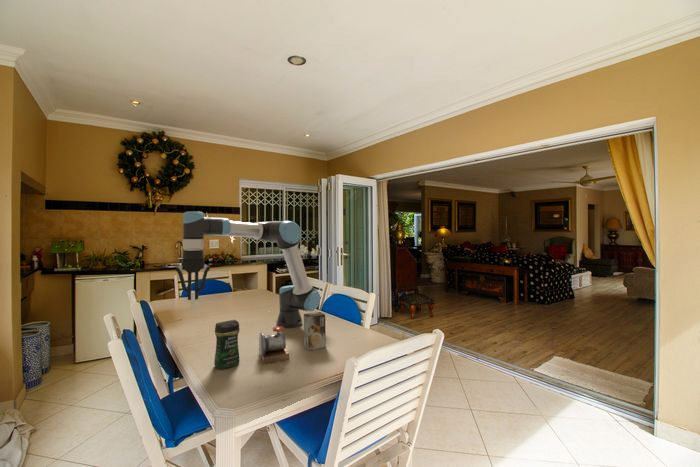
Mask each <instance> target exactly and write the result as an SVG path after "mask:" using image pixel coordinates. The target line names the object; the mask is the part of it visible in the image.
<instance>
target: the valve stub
mask: <svg viewBox="0 0 700 467" xmlns="http://www.w3.org/2000/svg"><path fill="white" fill-rule="evenodd" d="M284 330H285V328H284V327H282V326H277V325H276V326H274V327H272V332H275V333H276V334H268V335H265V333H264V332H260V333H259V336H258V354H259V357H260V359H261V362H262V364H263V365H269V364H273V363H274V364H275V363H280V362H286V361H287V362H288V361H290V352H289V350H288V349H287V347H286V345H287V343H286V342H287V340H286V335H285V333H284V332H283V331H284ZM281 332H282V333H281Z"/></svg>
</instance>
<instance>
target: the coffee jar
mask: <svg viewBox="0 0 700 467" xmlns="http://www.w3.org/2000/svg"><path fill="white" fill-rule="evenodd" d="M214 327H215V328H214V334H215V337H216V342H215V343H216V345H215V353H214V364H213V365H214V367H215V368H217V369H220V370H224V369H230V368H232V367H235V366H238V365H239V364H240V352H239V333H240V323H239V321H237V320H236V319H232V320H226V321H221V322H220V321H219V322H216V323H215V325H214Z"/></svg>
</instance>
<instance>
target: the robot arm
mask: <svg viewBox="0 0 700 467" xmlns="http://www.w3.org/2000/svg"><path fill="white" fill-rule="evenodd" d="M205 236H218V237H219V236H221V237H234V238H235V237H236V238H237V237H239V238H252V239H254V240H256V241H257V240H258V241H265V242H270V243H276V244H277V249H279V250H280V251H282V253H283V257H284V260H285V263H286V265H287V270H288V273H289V276H290V278H291V282H292V285H286V286H285V285H284V286H281V287H280V288H279V293H278V294H279V295H278V297H279V298H278V299H279V301H278V302H279V312H278V316H277V318H276V327H277V326H282V327H284V329H286V328H287V329H290V328H297V327H300V326H301V325H303V318H302V315H301V312H300V310H301V311H305V312H314V311H315V310H316V309H317V308H318V306H319V305H320V301H321V294H320V292H319V291H317V290H315V289H314V286H313V284H312V283H310V282H309V281H310V280H309V278H308V276H307V272H306V268H305V265H304V262H303V259H302V255H301V253H300V249H299V245H300V240H301V236H302V230H301V228H300V226H299V224H297V223H296V222H295V221H293V220H291V221H290V220H275V221H274V220H273V221H256V222H242V221H233V220H230V219H229V218H226V217H213V216H212V217H211V216H210V217H207V216H205V214H204V212H202V211H184V212H183V218H182V249H183V250H182V262H181V264H180V265H179V266H176V267H175V269H174V270H175V272H176V273H177V274H178V278H179V280H180V285H181V288H182V291H183V292H187V300H188V301H190V309H195V308H196V300H199V292H200V291H203V290H204V286H205V282H206V279H207V276H208V272H209V271H210V269H211V266H210V265H208V264H206V263H205V261H204V250H203V249H204V245H205V244H204V243H205V242H204V240H205V239H204V237H205ZM202 269H203V270H204V271H203V275H202V277H201V281H200V286H199V272H200V271H201V270H202ZM183 270H184V271H185V272H186V273H187V284H186V281H185V278H184V275H183V274H184V273H183V272H182V271H183ZM192 273H194V290H192ZM186 285H187V286H186Z"/></svg>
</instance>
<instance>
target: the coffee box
mask: <svg viewBox="0 0 700 467" xmlns="http://www.w3.org/2000/svg"><path fill="white" fill-rule="evenodd" d="M326 334H327V333H326V314H325V313H323V312H321V311H318V312H317V311H316V312H310V313H304V314H303V347H304V348H306V349H307V351H312V350H317V349H318V350H319V349H322V348H326V347H327V343H326V341H327V340H326V339H327V338H326V337H327V336H326Z"/></svg>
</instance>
